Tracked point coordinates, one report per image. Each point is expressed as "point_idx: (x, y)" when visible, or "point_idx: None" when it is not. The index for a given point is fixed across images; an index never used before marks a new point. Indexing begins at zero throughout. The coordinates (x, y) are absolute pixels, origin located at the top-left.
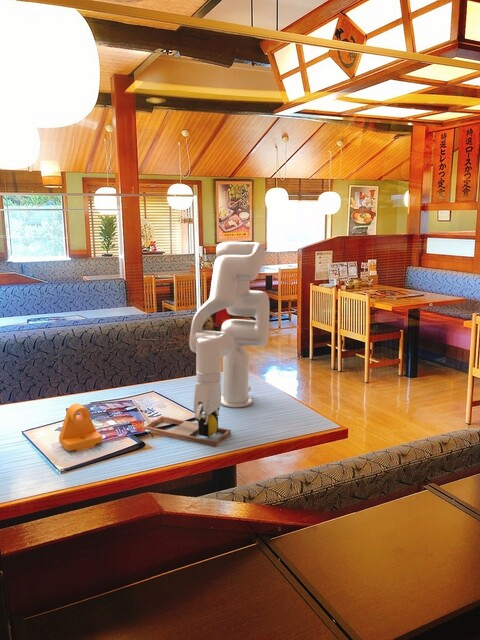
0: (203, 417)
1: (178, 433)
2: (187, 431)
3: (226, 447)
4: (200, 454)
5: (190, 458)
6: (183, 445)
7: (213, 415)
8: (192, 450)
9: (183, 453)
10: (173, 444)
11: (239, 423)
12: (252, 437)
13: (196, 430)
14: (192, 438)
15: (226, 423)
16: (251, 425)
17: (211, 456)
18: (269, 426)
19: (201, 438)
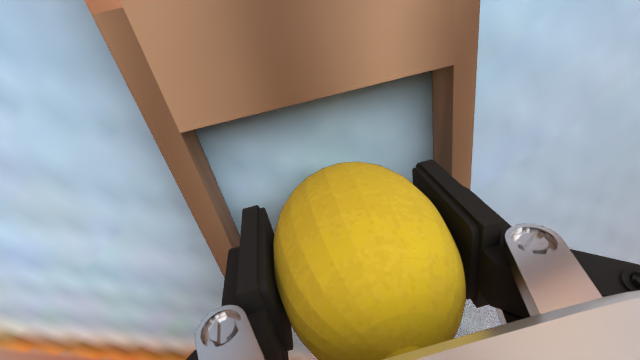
0: (331, 325)
1: (117, 2)
2: (238, 49)
3: (293, 330)
4: (113, 316)
5: (19, 320)
6: (85, 160)
7: (490, 289)
8: (99, 257)
9: (7, 253)
10: (3, 79)
11: (626, 176)
12: (464, 324)
13: (328, 94)
14: (180, 185)
15: (610, 114)
16: (609, 238)
17: (153, 356)
18: None
19: (226, 244)
